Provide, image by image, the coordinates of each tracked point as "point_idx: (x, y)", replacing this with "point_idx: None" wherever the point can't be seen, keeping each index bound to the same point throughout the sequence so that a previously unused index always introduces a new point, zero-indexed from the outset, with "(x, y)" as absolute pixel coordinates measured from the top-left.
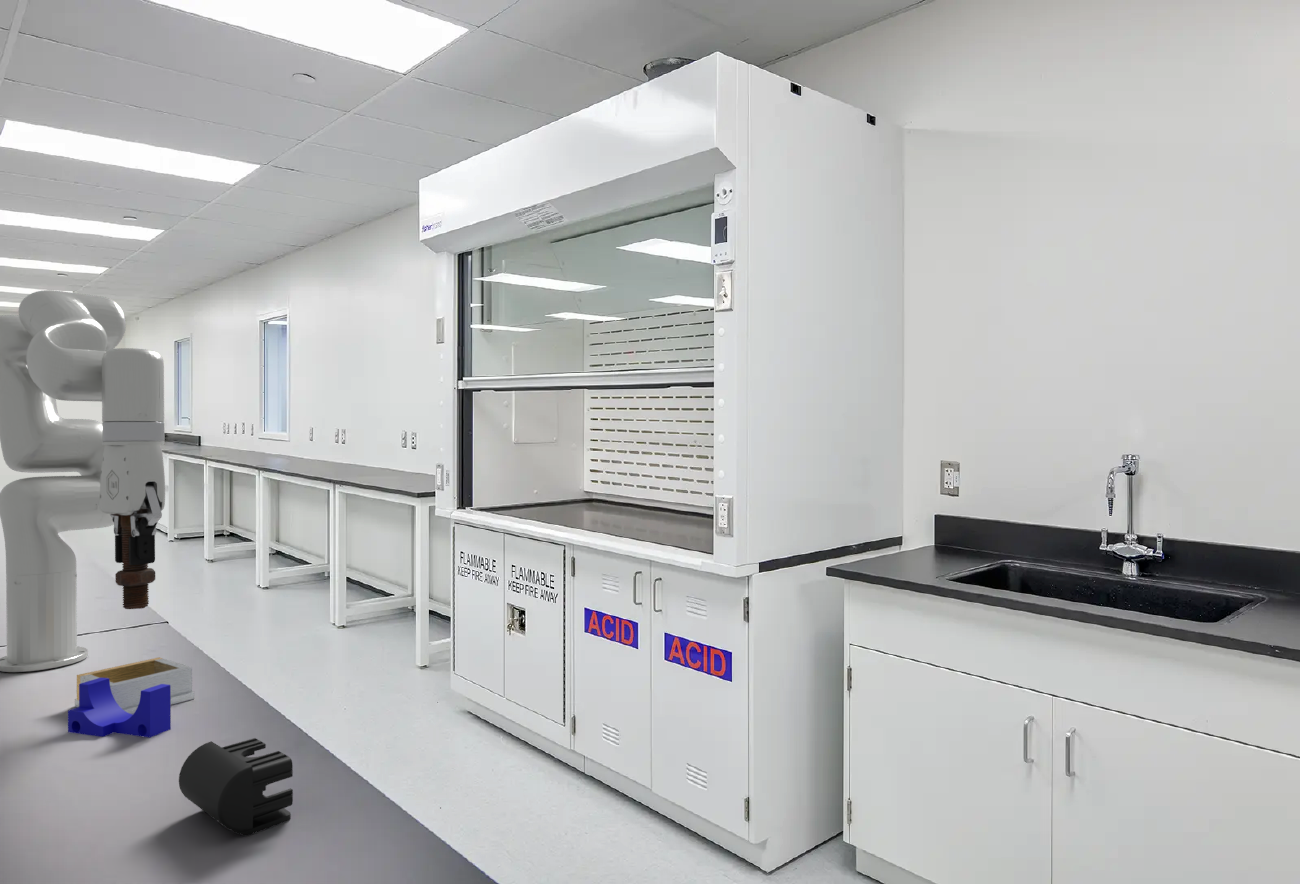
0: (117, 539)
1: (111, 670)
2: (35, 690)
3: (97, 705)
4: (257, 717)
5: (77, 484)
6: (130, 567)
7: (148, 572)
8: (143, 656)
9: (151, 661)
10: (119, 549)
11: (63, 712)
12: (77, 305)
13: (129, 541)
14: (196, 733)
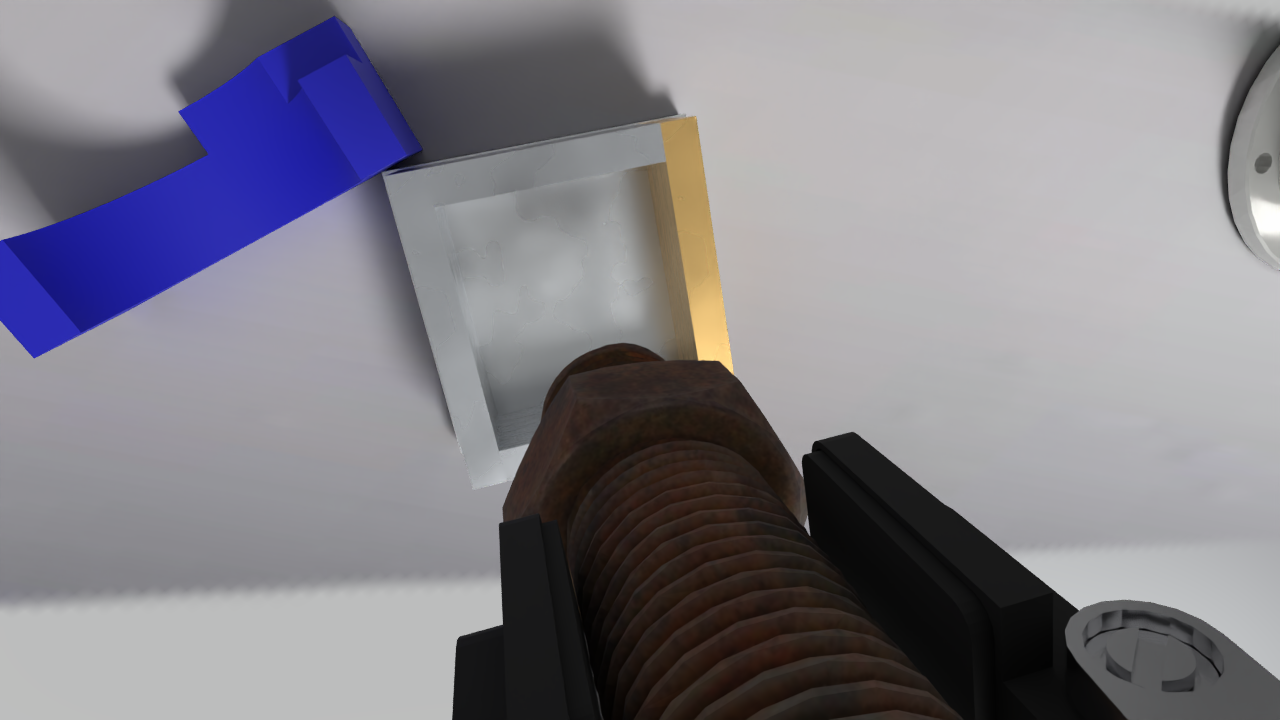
0: (959, 580)
1: (677, 242)
2: (1000, 48)
3: (302, 118)
4: (70, 556)
5: None
6: (591, 505)
7: None
8: (1135, 416)
9: None
10: (864, 525)
11: (628, 67)
12: None
13: (537, 690)
14: (7, 367)
